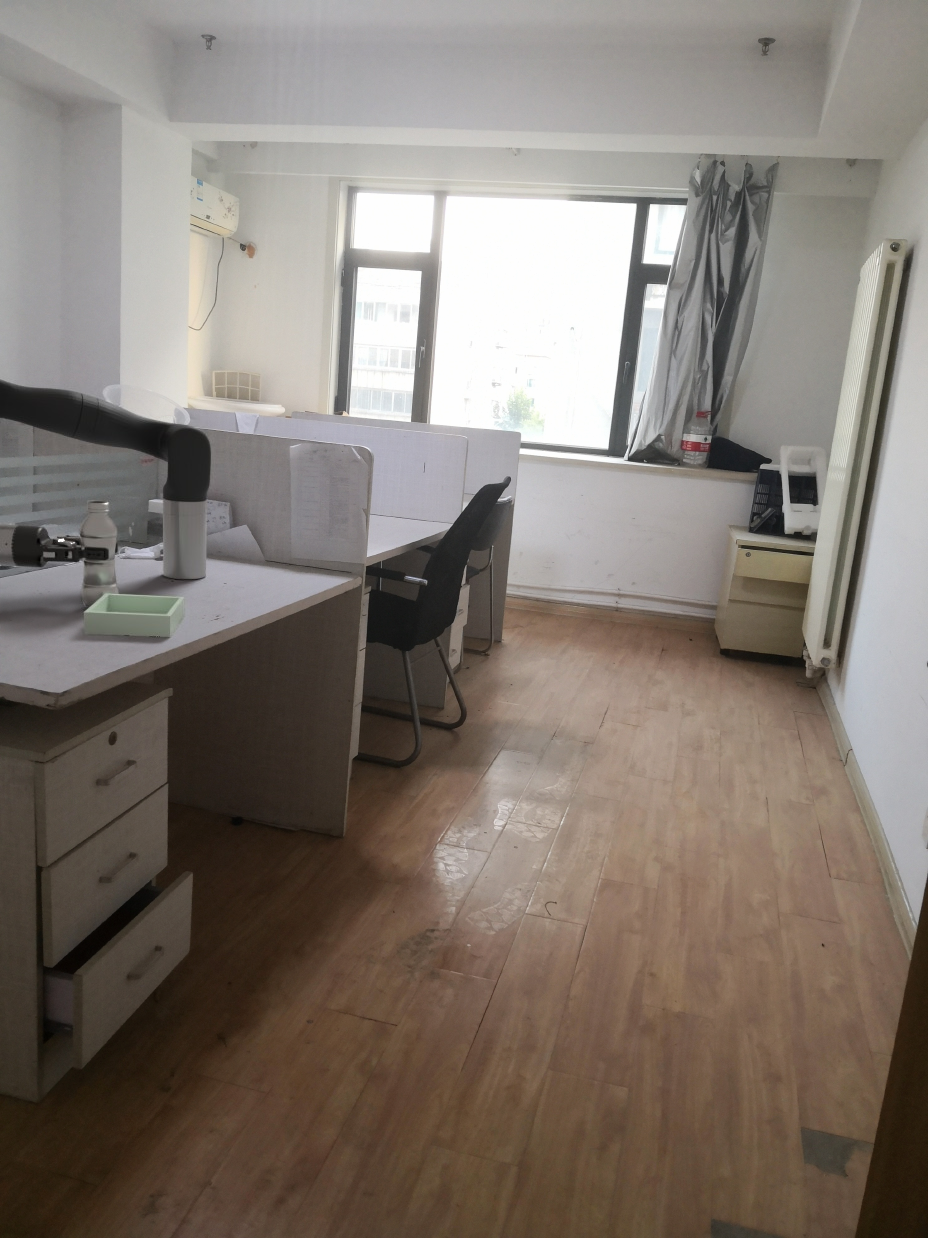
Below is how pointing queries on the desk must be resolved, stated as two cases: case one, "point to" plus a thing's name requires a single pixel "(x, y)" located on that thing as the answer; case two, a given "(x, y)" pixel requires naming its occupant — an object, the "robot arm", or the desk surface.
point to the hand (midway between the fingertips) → (112, 550)
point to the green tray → (134, 615)
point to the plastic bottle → (101, 534)
